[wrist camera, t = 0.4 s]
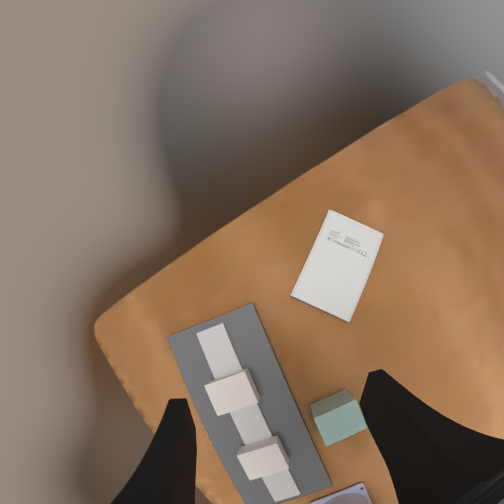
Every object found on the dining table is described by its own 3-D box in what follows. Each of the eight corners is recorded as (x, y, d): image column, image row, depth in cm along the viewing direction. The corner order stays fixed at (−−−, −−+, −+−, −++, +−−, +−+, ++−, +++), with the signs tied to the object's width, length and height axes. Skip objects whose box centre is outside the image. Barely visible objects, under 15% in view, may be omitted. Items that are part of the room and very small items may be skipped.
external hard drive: (289, 296, 38) (327, 212, 40) (347, 322, 36) (381, 237, 38) (290, 295, 36) (329, 208, 38) (349, 322, 35) (384, 234, 37)
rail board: (331, 482, 30) (335, 498, 26) (250, 507, 31) (246, 524, 26) (253, 303, 38) (248, 300, 33) (169, 336, 38) (155, 337, 33)
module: (355, 413, 33) (367, 427, 27) (320, 429, 33) (325, 446, 27) (345, 388, 34) (356, 399, 28) (309, 404, 34) (313, 418, 28)
